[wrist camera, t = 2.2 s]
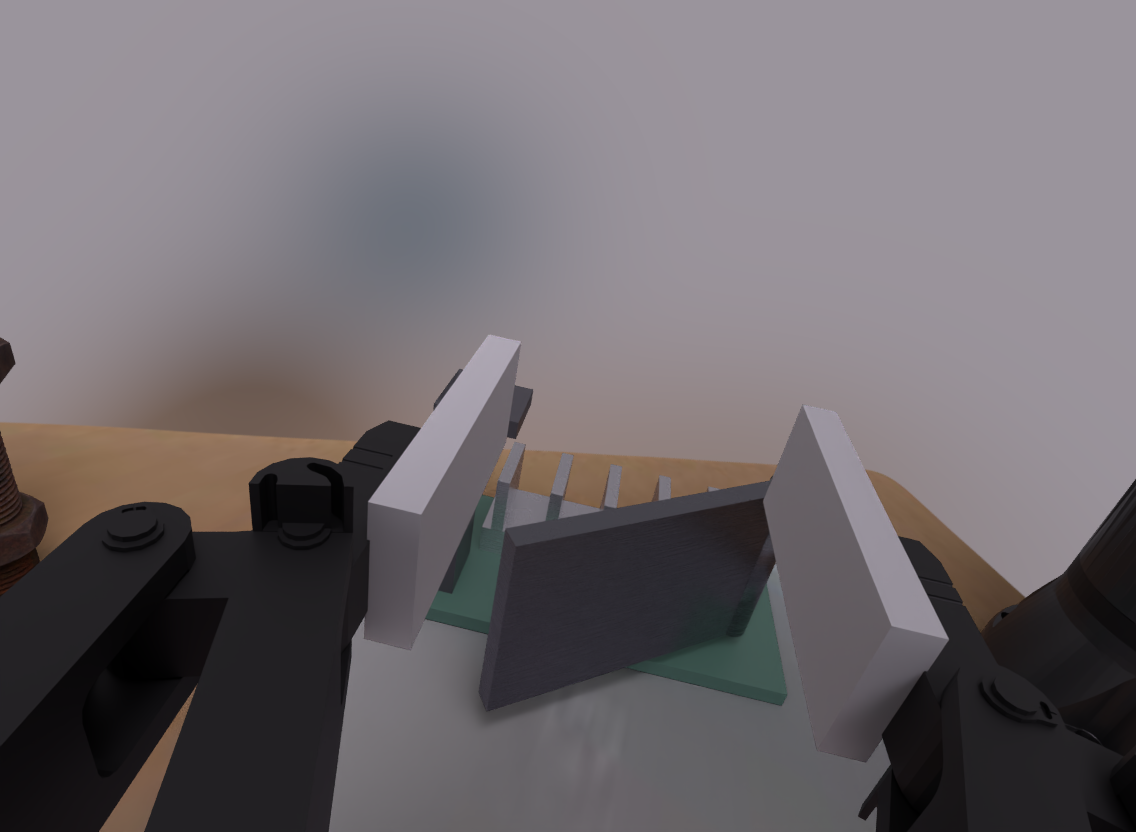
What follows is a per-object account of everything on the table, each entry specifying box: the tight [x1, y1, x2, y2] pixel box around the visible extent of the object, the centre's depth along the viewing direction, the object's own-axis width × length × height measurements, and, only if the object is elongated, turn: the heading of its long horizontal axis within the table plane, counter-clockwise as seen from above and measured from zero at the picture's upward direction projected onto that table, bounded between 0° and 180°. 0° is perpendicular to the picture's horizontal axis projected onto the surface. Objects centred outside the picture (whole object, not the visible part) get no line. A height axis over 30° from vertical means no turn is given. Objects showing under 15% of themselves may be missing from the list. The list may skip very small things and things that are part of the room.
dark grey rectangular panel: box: [479, 475, 776, 711], centre depth 34 cm, size 18×2×11 cm, turn 117°
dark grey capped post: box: [434, 369, 533, 594], centre depth 38 cm, size 4×4×14 cm
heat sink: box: [479, 442, 720, 554], centre depth 44 cm, size 16×5×6 cm, turn 82°
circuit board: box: [425, 495, 787, 706], centre depth 43 cm, size 25×12×1 cm, turn 82°
